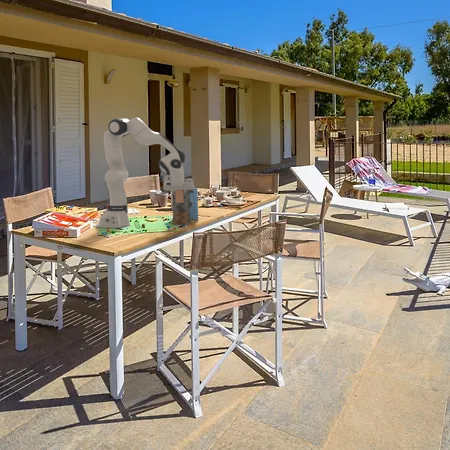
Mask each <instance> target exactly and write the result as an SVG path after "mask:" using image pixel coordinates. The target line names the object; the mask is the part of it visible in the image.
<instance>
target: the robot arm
mask: <svg viewBox="0 0 450 450" xmlns="http://www.w3.org/2000/svg"><path fill="white" fill-rule="evenodd" d="M107 128H108V130H106V131H105V132H103V133H104V134H103V147H104V154H105V159H106V160H105V161H106V162H107V164H108V166H109V170H107V171H106V172H105V174H104V181H105V182H106V186H107V189H108V193H109V204H108V205H107V206H106V209H107V210H106V211H105V212H104V213H103V214H102V215H101V216H100V217H99V222H98V223H97V224H96V225H95V226H96V228H105V229H106V228H108V229H109V228H112V229H113V228H114V229H116V228H117V229H118V228H124V227H128V226H130V225H131V223H130V220H129V216H128V215H129V214H128V212H129V207H128V206H129V205H128V201H127V200H128V199H127V192H126V190H125V186H124V183H125V182H126V181H127V180H128V179H129V172H128V170H127V168H126V167H127V166H126V164H125V160H124V157H123V149H122V143H121V139H122V137H123V138H124V137H126V136H128V135H130V134H131V135H132V136H133V137H134V139H135V140H136V141H137V142H138V143H139V144H140V145H142V146H147V147H148V146H152V145H162V146H163V147H164V148H165V149H166V150H168V151H169V153H168V154H167V155H165V156H164V157H163V158H161V159H160V160H159V161H158V167H159V169H160V171H161V172H162V173H163V174H165V176H164V180H163V191H171V192H172V191H173V193H175V190H183V193H185V191H186V190H193V189H194V187H195V185H194V182H195V180H194V179H192V178H185V175H184V174H185V173H184V165H183V164H184V163H185V161H186V153H185V152H184V151H183V150H182V149H180V148H178V147H177V146H176V145H175V144H174V143H172V142H171V141H170V140H169V139H168V138H167V137H165V136H164V135H163V134H162V133H160V132H157V131H153V130H152V129H151V128H150V127H148V125H147V124H146V123H145V122H144V121H143V120H141V119H140V118H139V117H133V118H131V119H130V118H122V117H119V118H113V119H111V120H110V122H109V123H108V125H107Z"/></svg>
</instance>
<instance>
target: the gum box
mask: <svg viewBox="0 0 450 450" xmlns="http://www.w3.org/2000/svg"><path fill="white" fill-rule="evenodd" d="M198 196H199V195H198V187H195V186H194V189H193V190H190V220H198V219H199V197H198Z"/></svg>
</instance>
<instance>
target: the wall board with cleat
mask: <svg viewBox="0 0 450 450" xmlns="http://www.w3.org/2000/svg"><path fill="white" fill-rule="evenodd" d="M171 195H172V196H171V197H172V199H171V200H172V204H171V205H172V223H173V222H174V223H173V225H174V224H177V226H180V225H181V226H183V225H186V226H188V225H189V224H190V223H191V219H190V190H186V191H185V193H183V199H184V202H183V203H176V196H175V193H173V191H171Z"/></svg>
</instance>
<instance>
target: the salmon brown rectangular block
mask: <svg viewBox="0 0 450 450" xmlns="http://www.w3.org/2000/svg"><path fill="white" fill-rule="evenodd" d="M175 196H176V203H183V202H184V199H183V190H175Z"/></svg>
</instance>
